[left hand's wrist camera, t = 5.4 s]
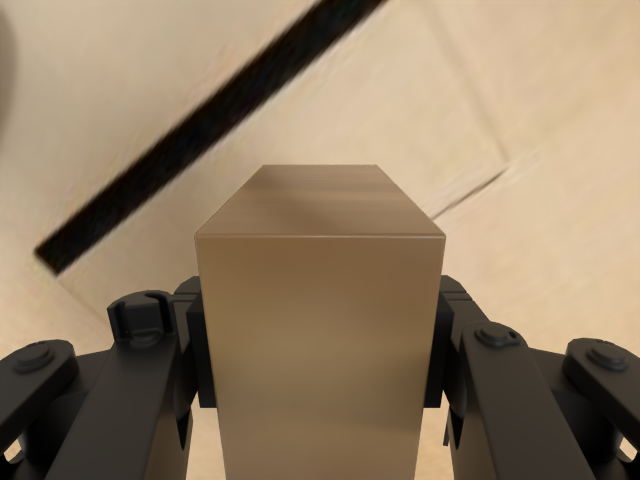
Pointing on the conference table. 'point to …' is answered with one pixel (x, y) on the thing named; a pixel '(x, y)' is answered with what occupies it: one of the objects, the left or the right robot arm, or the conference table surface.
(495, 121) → the conference table surface
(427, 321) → the bar
